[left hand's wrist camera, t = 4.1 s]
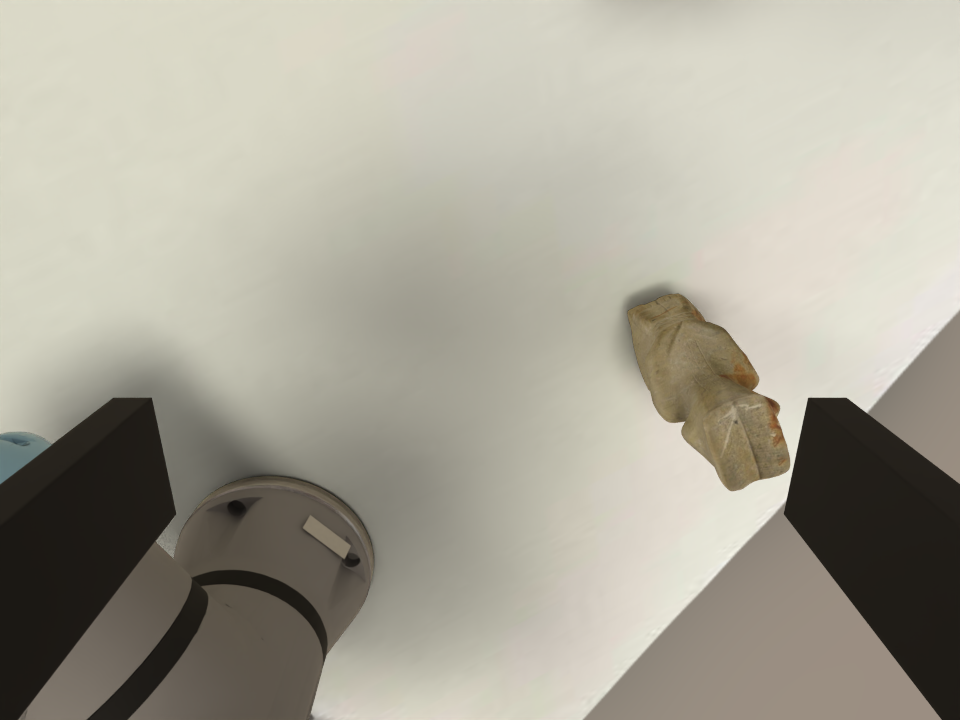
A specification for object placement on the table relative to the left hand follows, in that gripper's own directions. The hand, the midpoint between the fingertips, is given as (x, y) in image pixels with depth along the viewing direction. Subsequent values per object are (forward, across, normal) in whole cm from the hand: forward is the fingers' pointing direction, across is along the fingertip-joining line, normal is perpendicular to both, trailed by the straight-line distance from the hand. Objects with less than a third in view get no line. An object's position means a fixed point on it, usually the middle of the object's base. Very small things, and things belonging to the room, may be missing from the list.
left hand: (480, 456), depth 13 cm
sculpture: (+30, -13, +8) cm, 34 cm away
